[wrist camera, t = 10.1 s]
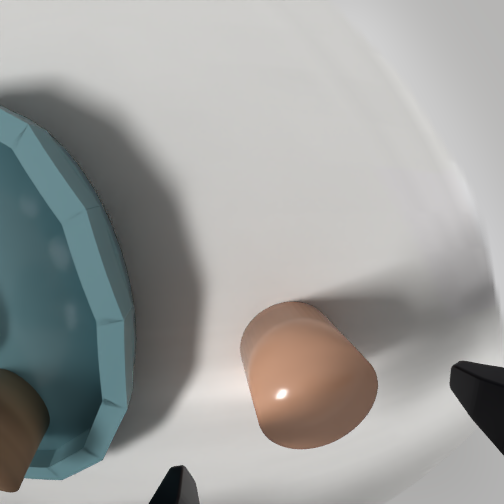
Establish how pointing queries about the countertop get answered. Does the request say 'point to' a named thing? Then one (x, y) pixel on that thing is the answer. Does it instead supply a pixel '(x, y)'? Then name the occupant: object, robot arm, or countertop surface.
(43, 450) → the teal round plate
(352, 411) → the bead terracotta
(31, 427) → the bead walnut
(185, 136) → the countertop surface
